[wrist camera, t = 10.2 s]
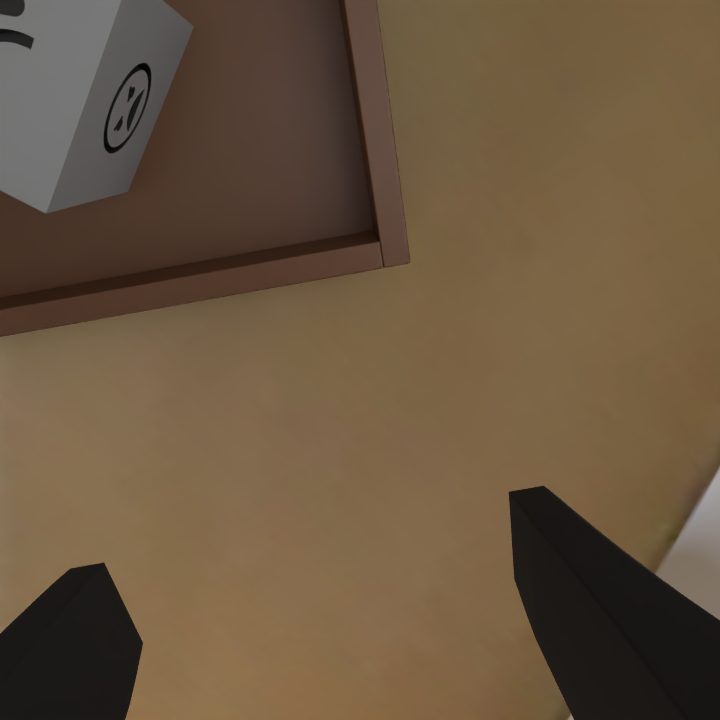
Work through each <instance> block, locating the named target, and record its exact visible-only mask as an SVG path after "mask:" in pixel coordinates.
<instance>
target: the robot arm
mask: <svg viewBox="0 0 720 720" xmlns="http://www.w3.org/2000/svg"><path fill="white" fill-rule="evenodd" d="M509 501H510V517H511V533H512V549H513V565H514V579H515V582H516V585H517V588H518V591H519V593H520V596H521V599H522V602H523V605H524V608H525V611H526V613H527V616H528V619H529V622H530V624H531V627H532V630H533V633H534V636H535V638H536V640H537V642H538V644H539V647H540V649H541V651H542V653H543V655H544V657H545V659H546V661H547V664H548V666H549V668H550V670H551V672H552V674H553V676H554V678H555V681H556V683H557V685H558V687H559V689H560V691H561V693H562V695H563V697H564V699H565V701H566V704H567V706H568V708H569V710H570V712H571V714H572V716H573V718H574V720H720V620H718V619H717V618H715V617H714V616H713V615H711V614H710V613H708V612H707V611H705V610H704V609H702V608H701V607H700V606H698V605H697V604H695V603H694V602H692V601H691V600H689V599H688V598H687V597H685V596H684V595H682V594H681V593H680V592H678V591H677V590H675V589H674V588H673V587H671V586H670V585H669V584H667V583H666V582H664V581H663V580H662V579H660V578H659V577H658V576H656V575H655V574H654V573H652V572H651V571H650V570H648V569H647V568H646V567H644V566H643V565H642V564H641V563H639V562H638V561H637V560H635V559H634V558H633V557H631V556H630V555H629V554H627V553H626V552H625V551H623V550H622V549H621V548H620V547H618V546H617V545H616V544H615V543H613V542H612V541H611V540H609V539H608V538H607V537H606V536H604V535H603V534H602V533H601V532H600V531H598V530H597V529H596V528H595V527H593V526H592V525H591V524H590V523H588V522H587V521H586V520H585V519H584V518H582V517H581V516H580V515H579V514H578V513H576V512H575V511H574V510H573V509H572V508H570V507H569V506H568V505H567V504H566V503H564V502H563V501H562V500H561V499H560V498H558V497H557V496H556V495H555V494H554V493H552V492H551V491H550V490H549V489H547V488H546V487H545V486H540V487H534V488H528V489H522V490H517V491H511V492H509ZM142 645H143V642H142V640H141V638H140V636H139V634H138V632H137V630H136V628H135V626H134V623H133V621H132V619H131V617H130V615H129V613H128V611H127V609H126V607H125V605H124V603H123V601H122V599H121V597H120V595H119V592H118V590H117V588H116V586H115V584H114V582H113V580H112V578H111V576H110V574H109V572H108V570H107V568H106V566H105V563H100V564H94V565H88V566H82V567H77V568H71V569H69V570H68V571H67V572H66V573H65V574H64V575H62V576H61V577H60V578H59V579H58V580H57V581H56V582H54V583H53V584H52V585H51V586H50V587H49V588H48V589H47V590H46V591H45V592H44V593H42V594H41V595H40V596H39V597H38V598H37V599H36V600H35V601H34V602H33V603H32V604H31V605H30V606H29V607H28V608H27V609H26V610H25V611H24V612H22V613H21V614H20V615H19V616H18V617H17V618H16V619H15V620H14V621H13V622H12V623H11V624H10V625H9V626H8V627H7V628H6V629H5V630H4V631H3V632H2V633H1V634H0V720H125V718H126V715H127V712H128V709H129V705H130V701H131V697H132V692H133V688H134V684H135V680H136V675H137V670H138V665H139V660H140V655H141V650H142Z"/></svg>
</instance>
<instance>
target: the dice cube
mask: <svg viewBox="0 0 720 720" xmlns="http://www.w3.org/2000/svg"><path fill="white" fill-rule="evenodd" d="M193 28H194V26H193V25H192V24H190V23H189V22H188V21H187V20H186V19H185V18H183V17H182V16H181V15H180V14H179V13H177V12H176V11H175V10H174V9H173V8H171V7H170V6H169V5H168V4H167V3H166V2H164V1H163V0H0V190H1V191H3V192H5V193H7V194H9V195H11V196H13V197H14V198H16V199H18V200H20V201H22V202H24V203H26V204H28V205H30V206H32V207H34V208H36V209H38V210H40V211H42V212H44V213H46V214H47V213H50V212H54V211H58V210H62V209H65V208H69V207H73V206H77V205H80V204H84V203H88V202H92V201H95V200H99V199H103V198H107V197H110V196H114V195H118V194H122V193H125V192H128V190H129V188H130V185H131V183H132V180H133V178H134V175H135V173H136V170H137V168H138V165H139V163H140V160H141V158H142V155H143V153H144V150H145V148H146V145H147V143H148V140H149V138H150V135H151V133H152V130H153V128H154V125H155V123H156V120H157V118H158V115H159V113H160V110H161V108H162V105H163V103H164V100H165V98H166V95H167V93H168V91H169V88H170V86H171V83H172V81H173V78H174V76H175V73H176V71H177V68H178V66H179V63H180V61H181V58H182V56H183V53H184V51H185V48H186V46H187V43H188V41H189V38H190V36H191V33H192V31H193Z"/></svg>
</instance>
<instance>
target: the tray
mask: <svg viewBox="0 0 720 720" xmlns="http://www.w3.org/2000/svg"><path fill="white" fill-rule="evenodd" d="M163 1H164V2H166V3H167V4H168V5H169V6H170V7H171V8H173V9H174V10H175V11H176V12H177V13H179V14H180V15H181V16H182V17H183V18H185V19H186V20H187V21H188V22H189V23H190V24H192V25H193V26H194V28H193V31H192V33H191V36H190V38H189V41H188V43H187V46H186V48H185V51H184V53H183V56H182V58H181V61H180V63H179V66H178V68H177V71H176V73H175V76H174V78H173V81H172V83H171V86H170V88H169V91H168V93H167V95H166V98H165V100H164V103H163V105H162V108H161V110H160V113H159V115H158V118H157V120H156V123H155V125H154V128H153V130H152V133H151V135H150V138H149V140H148V143H147V145H146V148H145V150H144V153H143V155H142V158H141V160H140V163H139V165H138V168H137V170H136V173H135V175H134V178H133V180H132V183H131V185H130V188H129V190H128V192H125V193H122V194H118V195H114V196H110V197H107V198H103V199H99V200H95V201H92V202H88V203H84V204H80V205H77V206H73V207H69V208H65V209H62V210H58V211H54V212H50V213H47V214H46V213H44V212H42V211H40V210H38V209H36V208H34V207H32V206H30V205H28V204H26V203H24V202H22V201H20V200H18V199H16V198H14V197H13V196H11V195H9V194H7V193H5V192H3V191H1V190H0V337H2V336H8V335H13V334H19V333H25V332H30V331H36V330H41V329H47V328H52V327H58V326H63V325H69V324H75V323H80V322H86V321H91V320H97V319H102V318H108V317H113V316H119V315H125V314H130V313H136V312H141V311H147V310H152V309H158V308H163V307H169V306H175V305H180V304H186V303H191V302H197V301H202V300H208V299H213V298H219V297H225V296H230V295H236V294H241V293H247V292H252V291H258V290H263V289H269V288H275V287H280V286H286V285H291V284H297V283H302V282H308V281H314V280H319V279H325V278H330V277H336V276H341V275H347V274H352V273H358V272H364V271H369V270H375V269H380V268H383V266H384V267H385V268H386V267H392V266H397V265H403V264H408V263H410V255H409V247H408V240H407V232H406V224H405V217H404V209H403V201H402V193H401V186H400V178H399V170H398V162H397V155H396V147H395V139H394V131H393V124H392V116H391V108H390V100H389V93H388V85H387V77H386V69H385V62H384V54H383V46H382V39H381V31H380V23H379V15H378V8H377V0H163Z"/></svg>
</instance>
